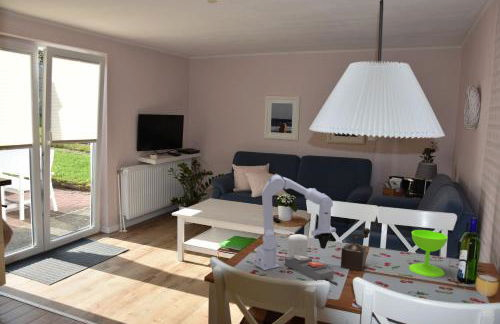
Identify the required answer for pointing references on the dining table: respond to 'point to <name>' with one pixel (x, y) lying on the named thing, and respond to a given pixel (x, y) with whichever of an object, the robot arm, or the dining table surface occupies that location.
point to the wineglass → (428, 251)
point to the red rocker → (315, 264)
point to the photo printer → (297, 245)
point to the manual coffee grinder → (354, 254)
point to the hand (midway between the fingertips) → (322, 248)
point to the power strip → (310, 269)
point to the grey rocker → (301, 257)
